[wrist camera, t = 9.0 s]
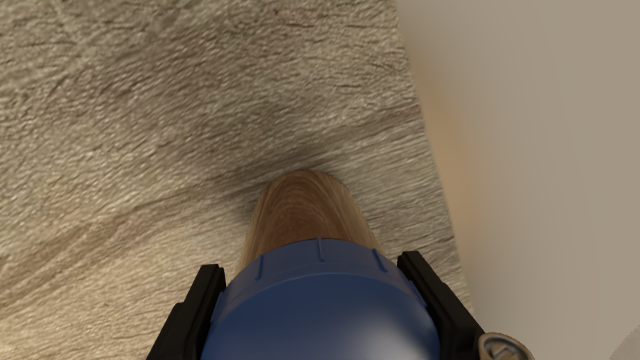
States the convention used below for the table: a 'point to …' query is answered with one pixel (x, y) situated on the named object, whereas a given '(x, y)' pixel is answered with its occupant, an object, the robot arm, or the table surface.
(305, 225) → the jar
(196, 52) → the table surface
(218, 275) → the robot arm
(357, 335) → the lid
